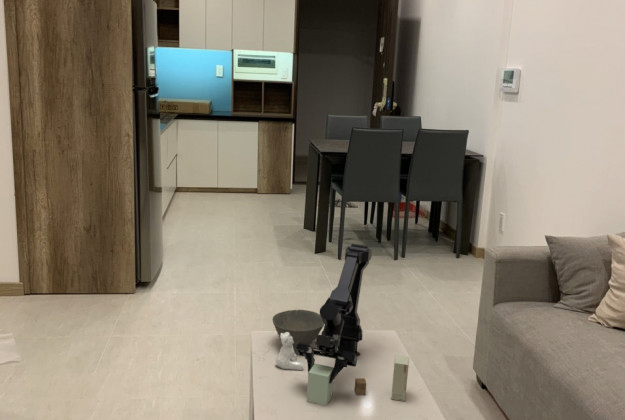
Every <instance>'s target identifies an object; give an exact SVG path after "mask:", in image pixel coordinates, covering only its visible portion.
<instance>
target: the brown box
mask: <svg viewBox="0 0 625 420" xmlns="http://www.w3.org/2000/svg"><path fill="white" fill-rule="evenodd" d="M366 392H367V381H366V378H360V377H358V378H357V377H356V378H355V379H354V393H355V395H356V396H366Z"/></svg>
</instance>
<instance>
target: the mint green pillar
mask: <svg viewBox="0 0 625 420" xmlns="http://www.w3.org/2000/svg"><path fill="white" fill-rule="evenodd" d="M333 368H334V366H328V365H324V364H319V363H314V365H313V367H312V368H311V370H310V371H309V372H308V371H307V388H306V389H307V392H306V402H307V403H308V402H309V403H312V404H317V405H322V406H326V407H327V406H328V403H329V402H330V400H331V399H332V396H333V388H334V380H333V381H332V383H331V384H330V383H329V381H330V376H331V373H332V371H333Z"/></svg>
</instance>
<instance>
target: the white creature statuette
mask: <svg viewBox="0 0 625 420" xmlns="http://www.w3.org/2000/svg"><path fill="white" fill-rule="evenodd" d="M280 337H281V338H280ZM279 338H280V342H281V345H282V346H281V347H280V350H279V353H278V355H276V358H275V363H276V365H277V367H279V368H280V369H283V370H290V371H291V370H293V371H303V370H304V368H305V367H304V363H303V362H300V361H297V358H298V357H297V355H298V354H297V353H295V352H296V350H295V348H293V345H292V344H293V343H294V342H293V339H292V338H293V337H292V336H290V333H288V332H285V333H284V334H283V333H281V335H280V336H279Z"/></svg>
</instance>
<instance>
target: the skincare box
mask: <svg viewBox="0 0 625 420" xmlns="http://www.w3.org/2000/svg"><path fill="white" fill-rule="evenodd" d="M394 357H395V358H394V365H393V375H392V376H393V377H392V385H391V397H390V399H391V400H396V401H402V402H405V401H406V395H407V383H408V373H409V365H410V364H409V363H410V357H409V356H405V355H400V354H395V356H394Z"/></svg>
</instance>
